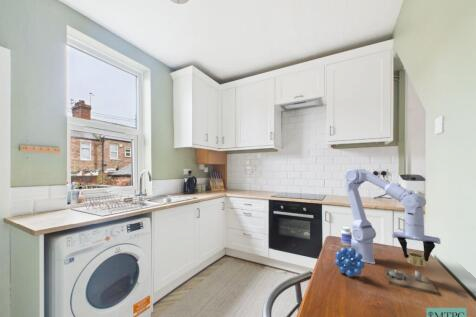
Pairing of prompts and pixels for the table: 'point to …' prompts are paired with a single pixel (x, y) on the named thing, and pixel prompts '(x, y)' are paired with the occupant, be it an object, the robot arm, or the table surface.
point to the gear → (416, 259)
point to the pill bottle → (346, 236)
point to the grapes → (349, 261)
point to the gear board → (410, 280)
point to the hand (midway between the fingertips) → (415, 258)
